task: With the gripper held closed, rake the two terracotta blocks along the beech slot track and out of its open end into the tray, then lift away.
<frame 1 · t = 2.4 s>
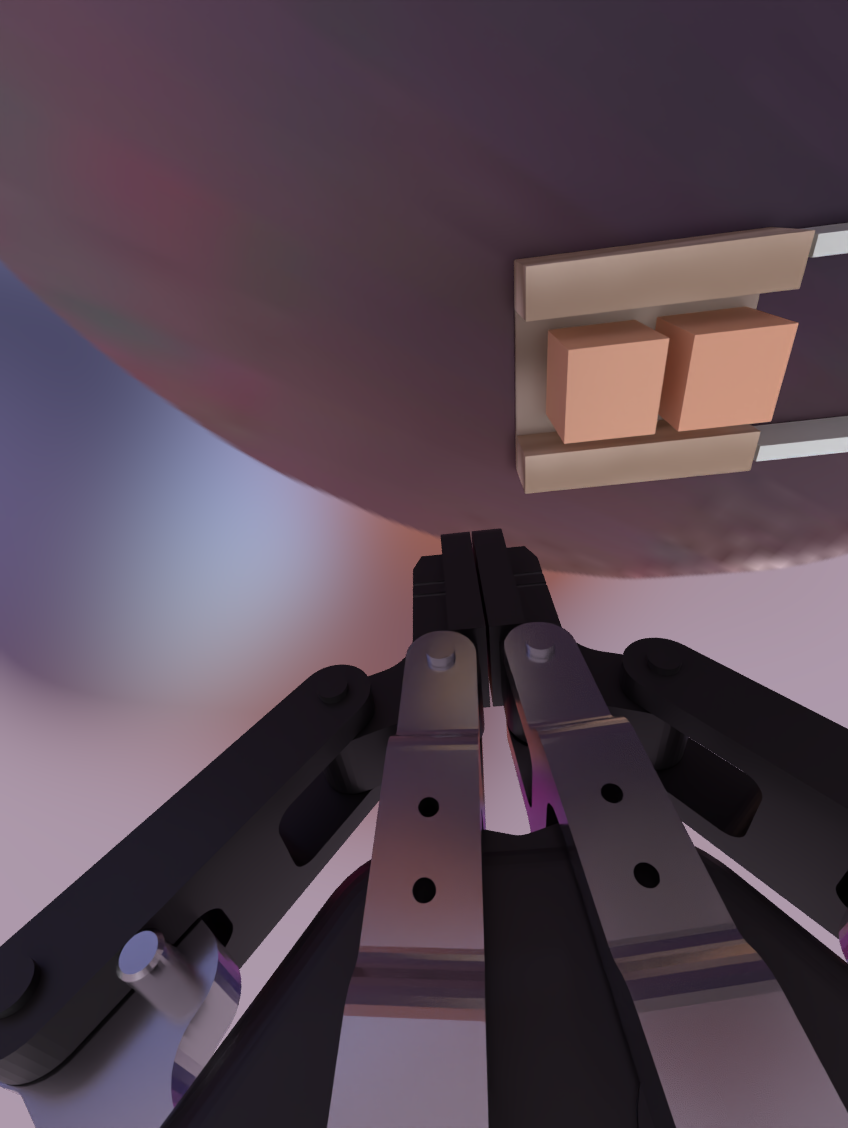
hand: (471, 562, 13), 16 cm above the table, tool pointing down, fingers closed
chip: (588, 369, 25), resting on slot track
salmon cube: (693, 357, 25), resting on slot track
slot track: (627, 362, 25), on the table
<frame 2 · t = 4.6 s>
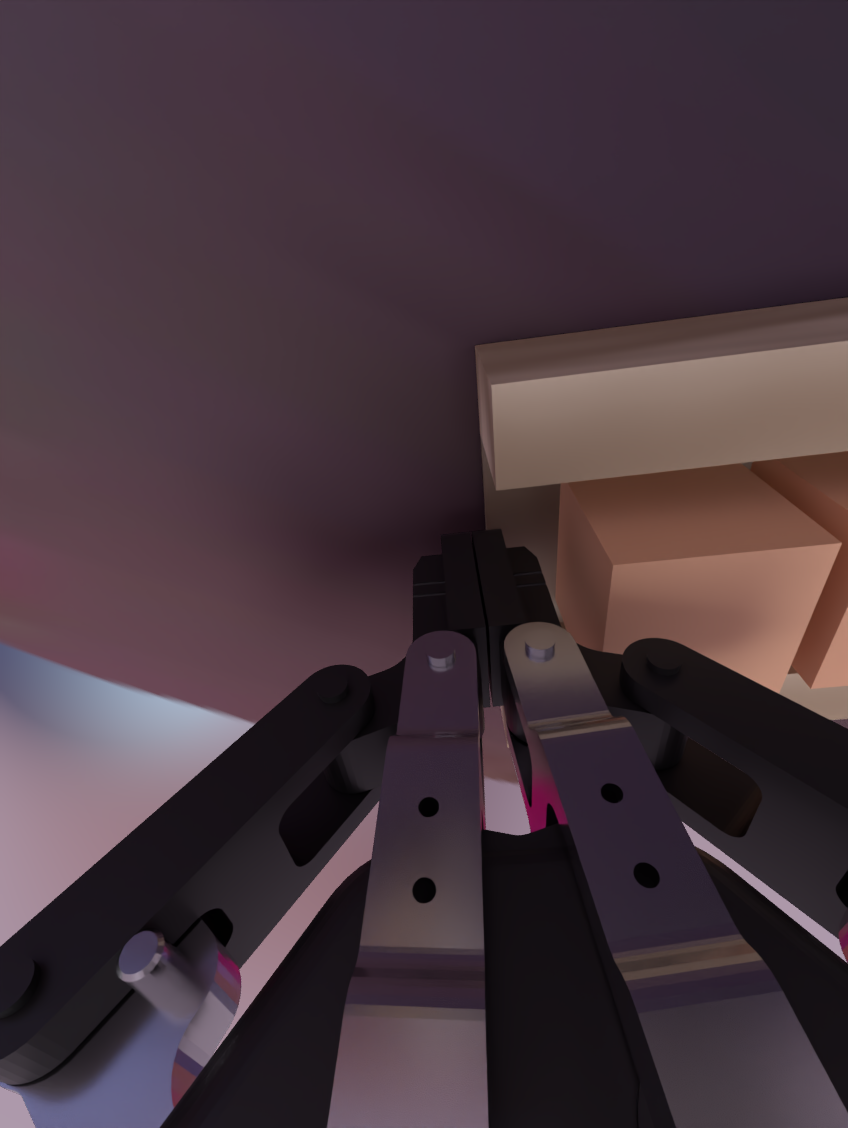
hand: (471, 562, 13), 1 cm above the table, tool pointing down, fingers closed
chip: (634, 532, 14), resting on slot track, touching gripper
salmon cube: (817, 510, 13), resting on slot track
slot track: (693, 517, 14), on the table
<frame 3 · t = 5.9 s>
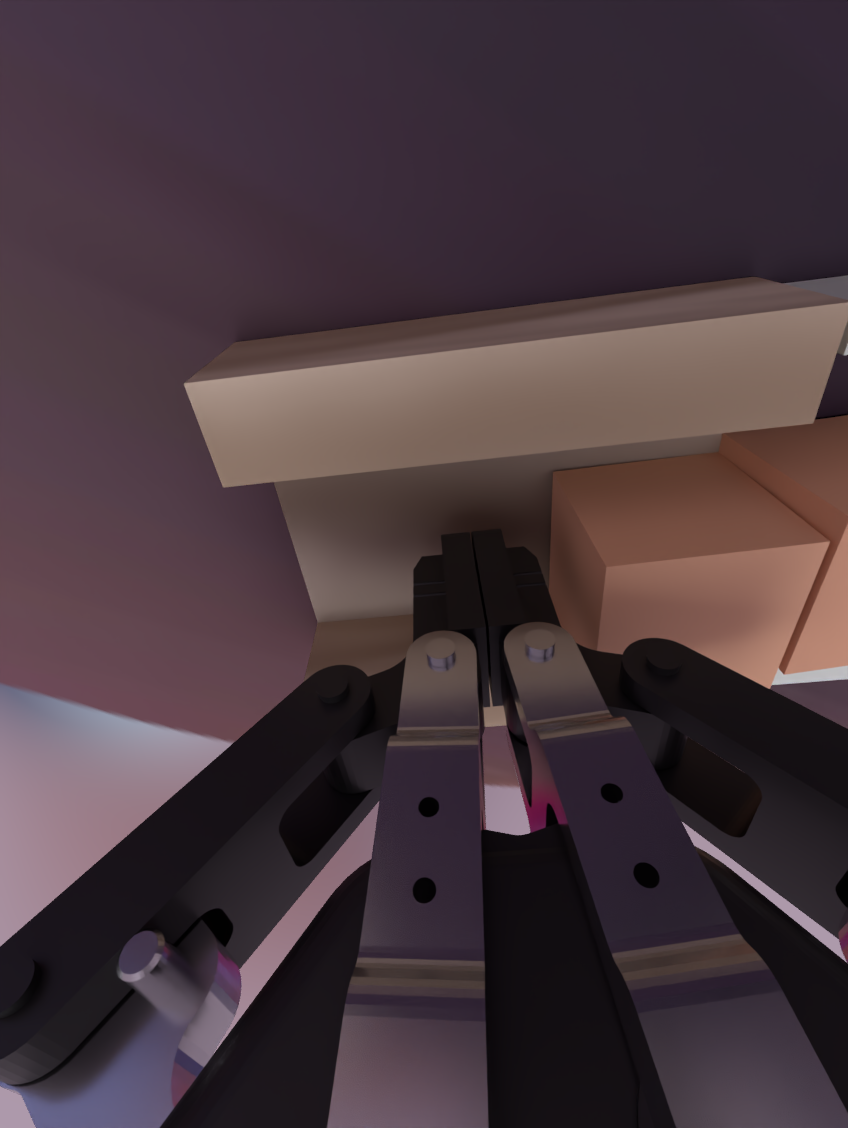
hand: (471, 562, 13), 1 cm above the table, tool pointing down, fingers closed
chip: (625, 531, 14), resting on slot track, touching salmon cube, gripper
salmon cube: (782, 495, 13), on the table, touching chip, slot track
slot track: (494, 514, 14), on the table
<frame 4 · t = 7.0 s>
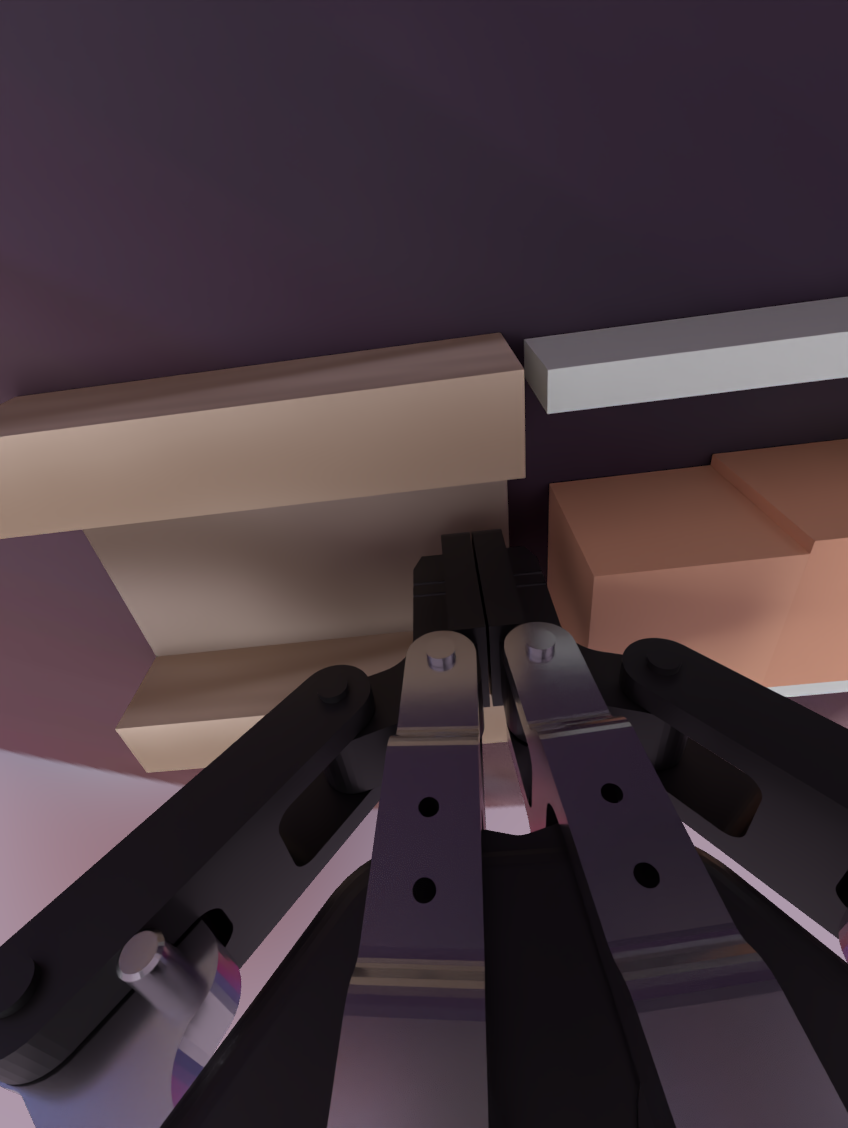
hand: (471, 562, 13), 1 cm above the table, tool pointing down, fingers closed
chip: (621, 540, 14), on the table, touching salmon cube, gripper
tray: (697, 509, 14), on the table
salmon cube: (774, 515, 14), on the table, touching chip
slot track: (307, 552, 14), on the table
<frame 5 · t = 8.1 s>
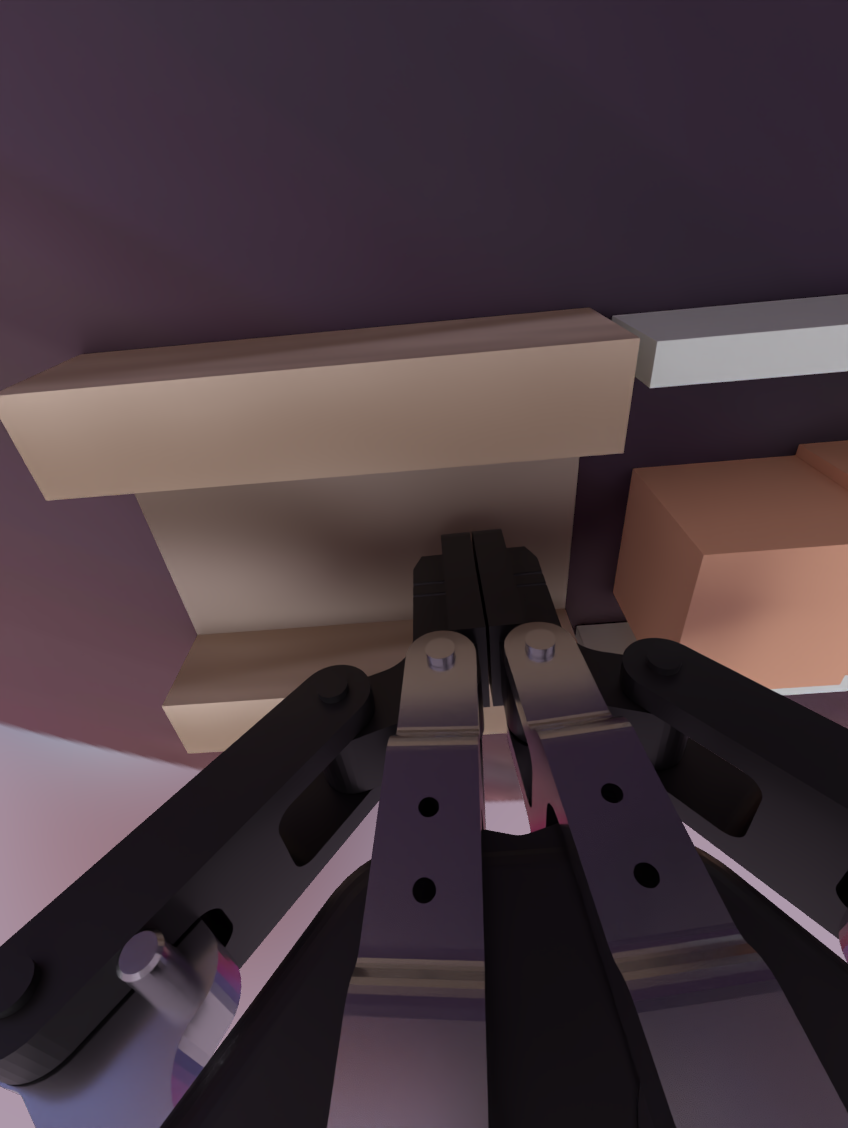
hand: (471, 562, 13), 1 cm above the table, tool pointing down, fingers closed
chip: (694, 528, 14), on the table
tray: (762, 499, 14), on the table
slot track: (365, 530, 14), on the table
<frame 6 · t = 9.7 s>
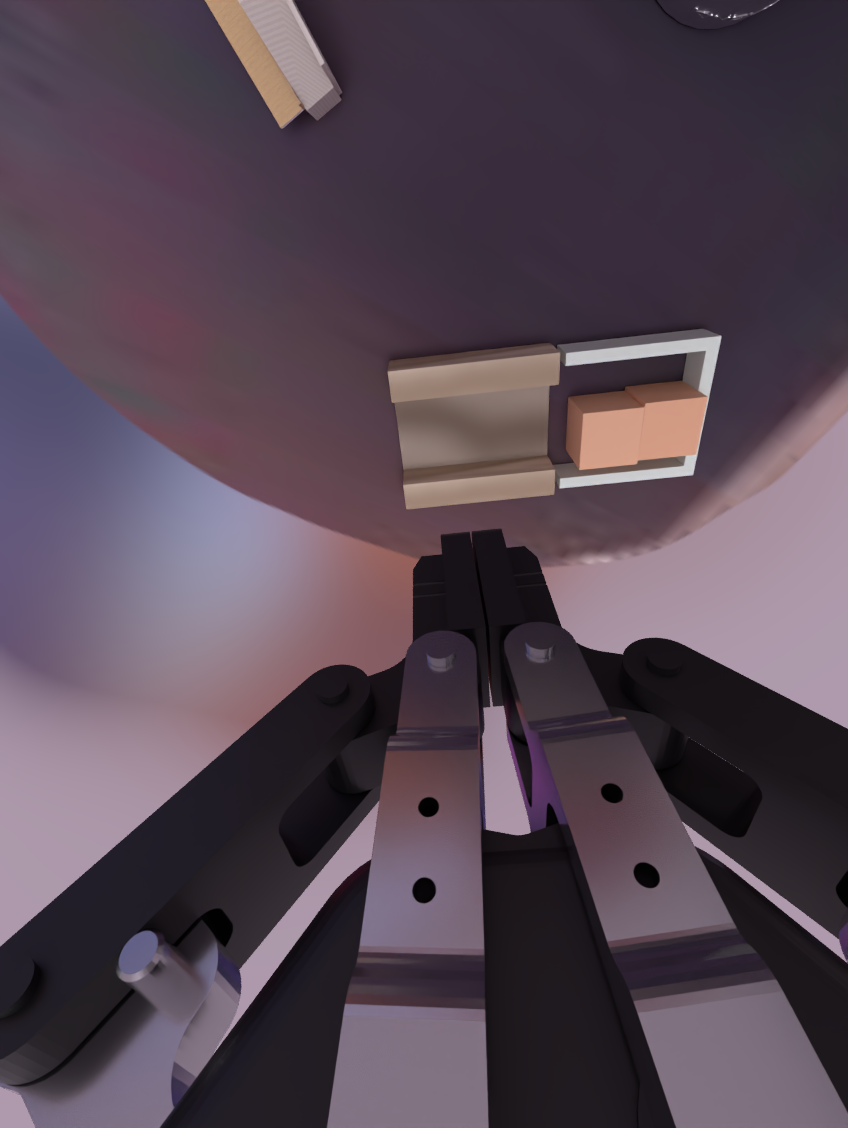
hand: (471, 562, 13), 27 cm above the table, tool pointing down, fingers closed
architectural model: (299, 51, 28), on the table
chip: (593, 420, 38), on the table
tray: (616, 407, 38), on the table
salmon cube: (649, 410, 38), on the table
slot track: (472, 422, 38), on the table
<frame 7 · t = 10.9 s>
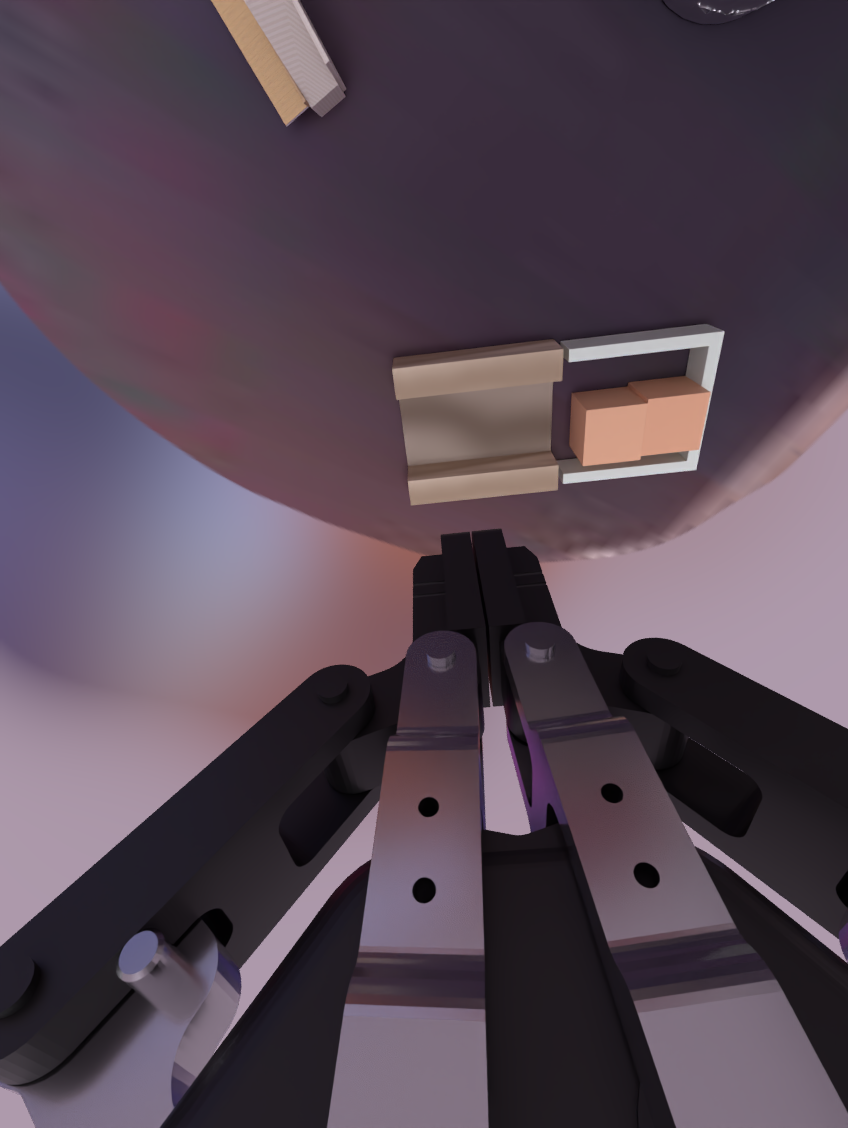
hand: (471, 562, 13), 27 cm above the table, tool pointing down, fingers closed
architectural model: (303, 48, 28), on the table
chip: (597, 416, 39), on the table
tray: (619, 403, 38), on the table
salmon cube: (652, 406, 38), on the table
slot track: (476, 419, 39), on the table
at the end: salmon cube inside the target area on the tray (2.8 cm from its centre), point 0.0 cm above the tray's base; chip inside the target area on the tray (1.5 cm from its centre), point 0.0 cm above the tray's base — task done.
